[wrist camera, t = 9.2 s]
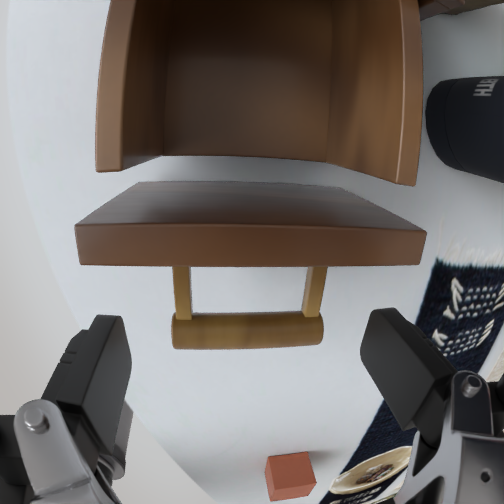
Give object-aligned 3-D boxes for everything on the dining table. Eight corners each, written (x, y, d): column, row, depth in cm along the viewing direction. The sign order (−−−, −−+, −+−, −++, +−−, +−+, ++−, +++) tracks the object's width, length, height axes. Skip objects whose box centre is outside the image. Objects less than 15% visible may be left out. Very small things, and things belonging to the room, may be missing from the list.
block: (264, 471, 27) (270, 501, 23) (268, 456, 26) (274, 489, 22) (300, 467, 28) (308, 495, 24) (307, 451, 26) (316, 483, 22)
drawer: (326, 288, 17) (382, 372, 10) (145, 289, 16) (111, 385, 9) (349, -2, 11) (423, -57, 4) (155, -19, 9) (123, -99, 3)
